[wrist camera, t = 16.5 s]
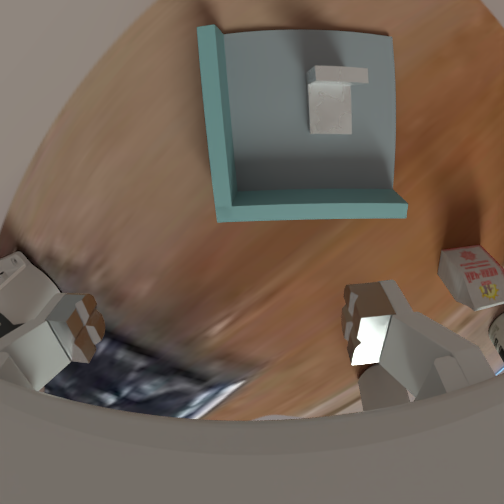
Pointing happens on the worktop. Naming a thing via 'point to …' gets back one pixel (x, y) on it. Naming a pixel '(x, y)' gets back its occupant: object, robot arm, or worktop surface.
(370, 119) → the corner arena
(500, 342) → the spray can
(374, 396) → the can
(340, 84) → the bracket
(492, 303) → the milk carton
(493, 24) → the worktop surface
